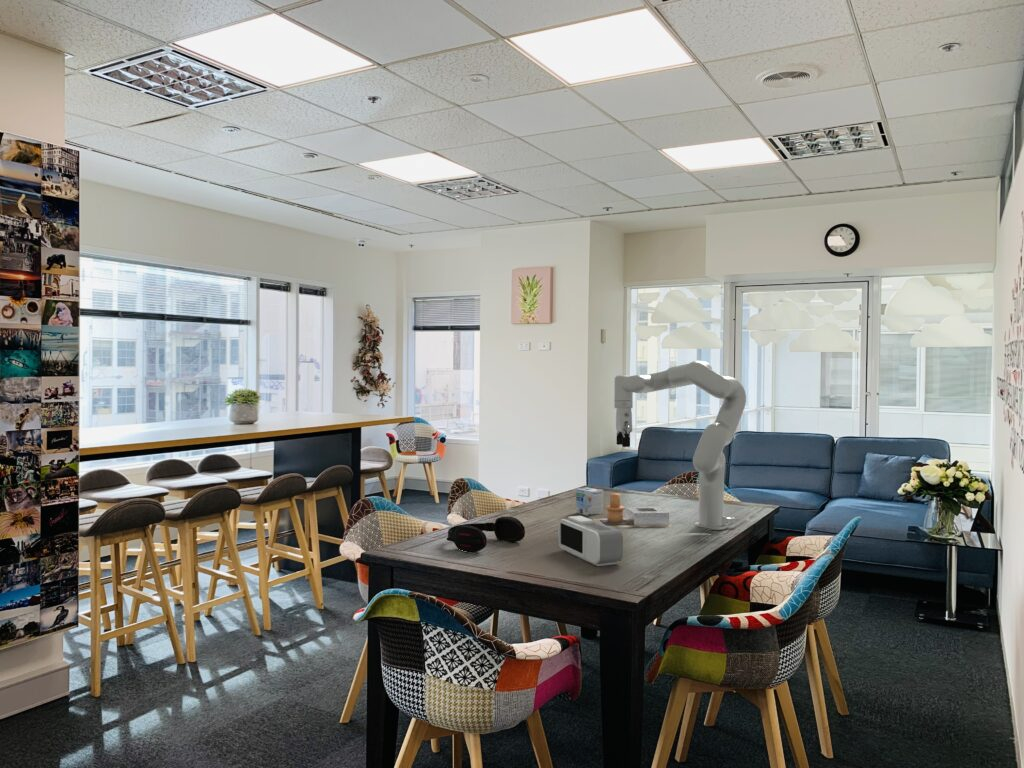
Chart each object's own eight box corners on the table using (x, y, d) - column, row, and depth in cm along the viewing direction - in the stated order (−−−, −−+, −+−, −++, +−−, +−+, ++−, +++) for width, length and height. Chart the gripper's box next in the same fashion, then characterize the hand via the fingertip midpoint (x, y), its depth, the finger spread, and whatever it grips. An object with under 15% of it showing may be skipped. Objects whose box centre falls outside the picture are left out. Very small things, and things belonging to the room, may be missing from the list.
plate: (659, 520, 320) (659, 505, 320) (673, 529, 302) (673, 513, 302) (592, 521, 317) (592, 506, 317) (602, 530, 300) (602, 514, 299)
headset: (511, 558, 255) (511, 531, 255) (435, 553, 261) (435, 527, 261) (529, 540, 282) (530, 516, 282) (460, 536, 289) (460, 512, 288)
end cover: (622, 519, 313) (622, 492, 313) (626, 523, 306) (626, 495, 306) (603, 520, 313) (603, 492, 312) (607, 523, 305) (608, 495, 305)
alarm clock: (557, 550, 266) (558, 515, 266) (581, 547, 270) (582, 513, 270) (597, 569, 241) (597, 530, 241) (623, 566, 245) (623, 528, 245)
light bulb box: (575, 513, 336) (575, 488, 336) (587, 511, 340) (587, 486, 340) (592, 516, 327) (592, 491, 327) (603, 515, 331) (604, 490, 331)
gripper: (637, 405, 316) (637, 447, 316) (627, 403, 333) (626, 443, 333) (619, 405, 315) (619, 447, 315) (609, 403, 332) (609, 443, 333)
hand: (623, 445), depth 324 cm, fingers open, 9 cm apart
